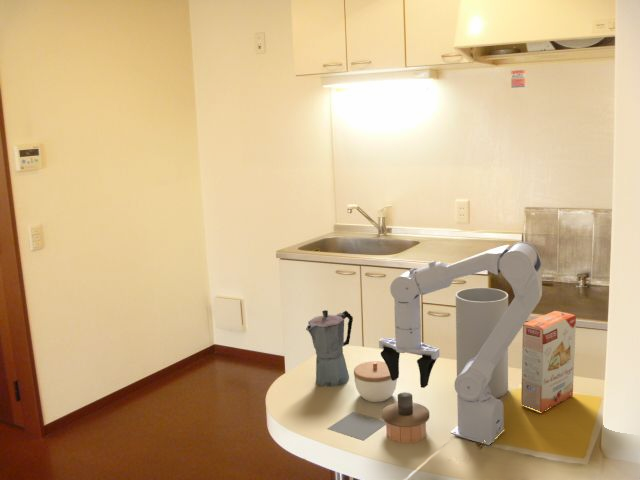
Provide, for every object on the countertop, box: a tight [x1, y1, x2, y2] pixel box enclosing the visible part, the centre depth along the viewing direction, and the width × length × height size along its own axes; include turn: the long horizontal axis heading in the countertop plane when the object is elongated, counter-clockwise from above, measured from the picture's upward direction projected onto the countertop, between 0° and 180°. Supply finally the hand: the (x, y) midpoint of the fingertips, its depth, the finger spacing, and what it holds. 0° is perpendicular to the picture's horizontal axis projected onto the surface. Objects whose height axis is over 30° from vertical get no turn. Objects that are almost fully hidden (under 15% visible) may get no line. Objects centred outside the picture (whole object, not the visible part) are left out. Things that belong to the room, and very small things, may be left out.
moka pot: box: [305, 310, 354, 387], centre depth 177 cm, size 10×15×20 cm, turn 132°
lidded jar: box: [353, 360, 398, 403], centre depth 166 cm, size 11×11×9 cm
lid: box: [381, 391, 430, 427], centre depth 147 cm, size 10×10×5 cm
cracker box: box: [520, 310, 577, 413], centre depth 158 cm, size 14×6×21 cm, turn 129°
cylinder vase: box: [455, 287, 509, 399], centre depth 166 cm, size 12×12×25 cm
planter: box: [385, 422, 427, 444], centre depth 148 cm, size 9×9×4 cm
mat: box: [326, 411, 386, 441], centre depth 153 cm, size 10×10×1 cm
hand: (409, 382), depth 152 cm, fingers open, 7 cm apart
